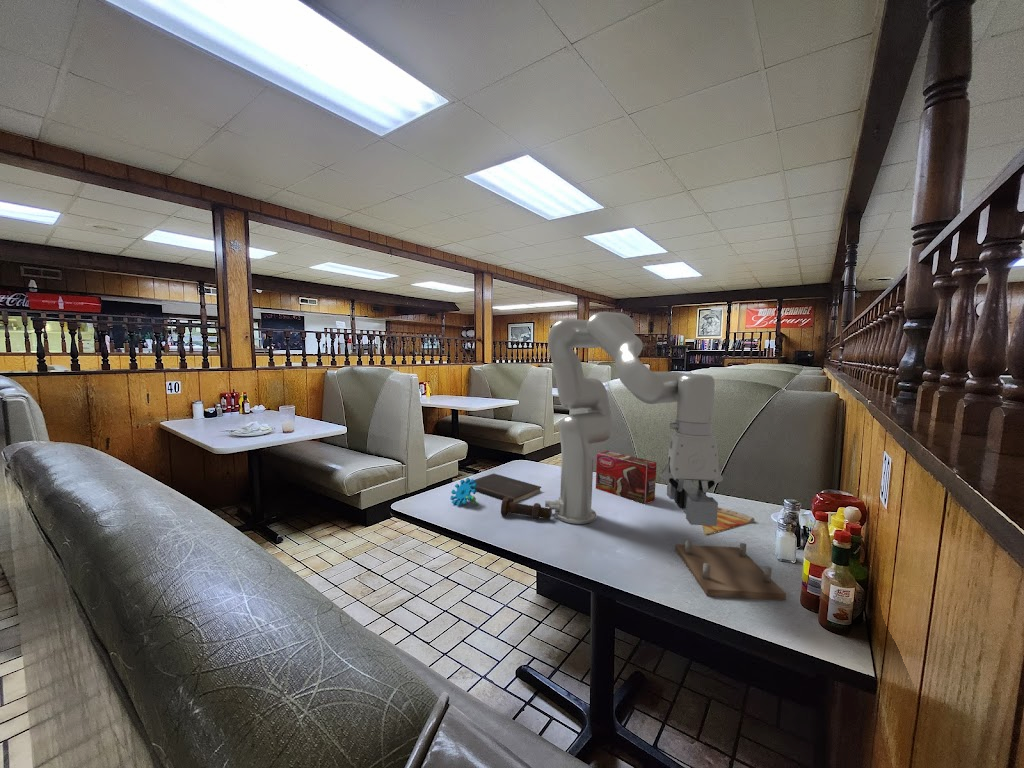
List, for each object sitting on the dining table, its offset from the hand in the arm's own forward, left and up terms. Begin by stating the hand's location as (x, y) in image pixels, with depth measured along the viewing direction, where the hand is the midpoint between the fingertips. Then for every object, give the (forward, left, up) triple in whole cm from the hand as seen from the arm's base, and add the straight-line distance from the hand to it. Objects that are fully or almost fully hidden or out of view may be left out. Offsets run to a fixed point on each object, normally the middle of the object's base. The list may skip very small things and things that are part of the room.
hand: (689, 506), depth 96 cm
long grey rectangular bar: (0, 0, -1) cm, 1 cm away
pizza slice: (+18, +32, -16) cm, 40 cm away
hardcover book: (-47, +50, -16) cm, 71 cm away
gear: (-58, +36, -16) cm, 70 cm away
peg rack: (+9, 0, -16) cm, 18 cm away
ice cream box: (-4, +51, -16) cm, 53 cm away
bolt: (-38, +27, -16) cm, 49 cm away
